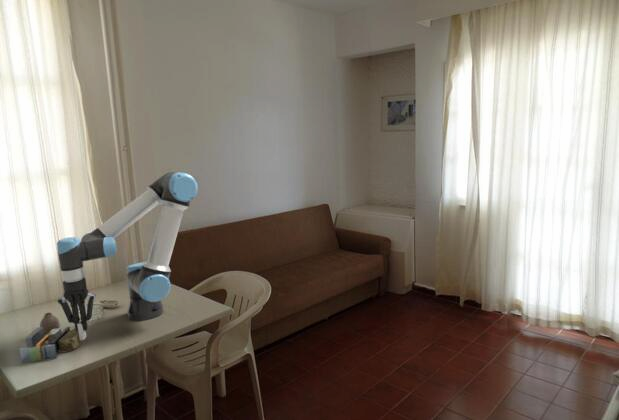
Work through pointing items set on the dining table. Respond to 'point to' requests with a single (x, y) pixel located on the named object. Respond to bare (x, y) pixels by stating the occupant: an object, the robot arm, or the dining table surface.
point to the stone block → (70, 341)
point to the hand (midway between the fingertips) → (83, 338)
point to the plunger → (53, 338)
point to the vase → (49, 323)
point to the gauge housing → (32, 351)
